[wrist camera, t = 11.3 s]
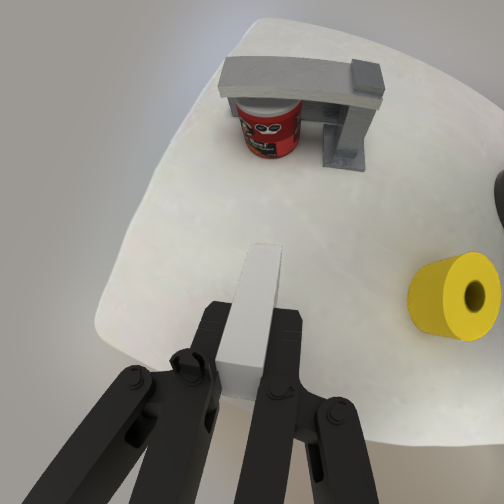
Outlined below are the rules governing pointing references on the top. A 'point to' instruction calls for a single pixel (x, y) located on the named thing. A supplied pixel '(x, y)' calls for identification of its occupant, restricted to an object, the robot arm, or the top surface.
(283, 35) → the top surface
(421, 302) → the yellow toilet paper roll
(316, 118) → the bracket
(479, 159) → the top surface
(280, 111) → the canned food
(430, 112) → the top surface
